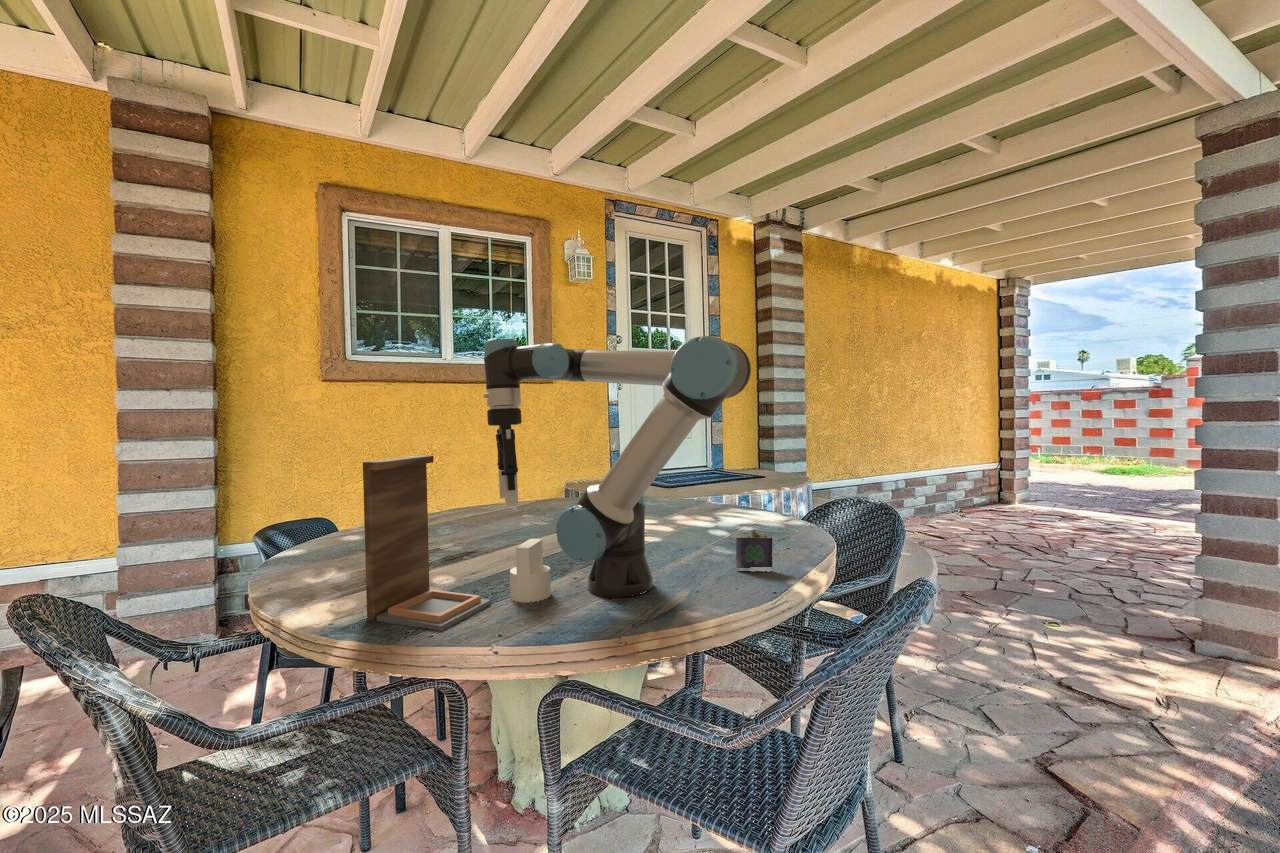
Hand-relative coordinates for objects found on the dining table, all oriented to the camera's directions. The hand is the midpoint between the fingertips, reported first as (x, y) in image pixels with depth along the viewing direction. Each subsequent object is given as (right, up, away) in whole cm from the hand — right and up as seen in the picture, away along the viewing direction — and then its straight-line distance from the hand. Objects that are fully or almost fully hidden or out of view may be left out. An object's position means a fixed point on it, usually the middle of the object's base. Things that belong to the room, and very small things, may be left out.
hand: (508, 501), depth 135 cm
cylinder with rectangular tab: (+5, -22, -1) cm, 22 cm away
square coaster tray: (-13, -22, -11) cm, 28 cm away
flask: (+59, -20, +17) cm, 65 cm away
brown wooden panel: (-22, -22, -8) cm, 32 cm away
